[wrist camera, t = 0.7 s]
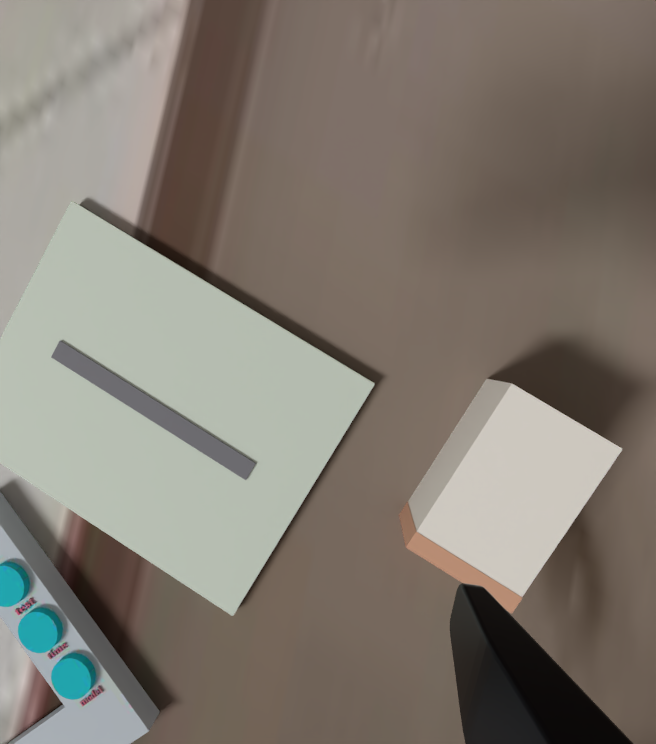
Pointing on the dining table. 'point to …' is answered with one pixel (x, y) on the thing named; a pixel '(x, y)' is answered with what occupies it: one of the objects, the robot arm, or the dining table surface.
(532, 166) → the dining table surface
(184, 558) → the mat
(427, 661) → the dining table surface
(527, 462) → the block
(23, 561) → the electronic device
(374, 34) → the dining table surface
